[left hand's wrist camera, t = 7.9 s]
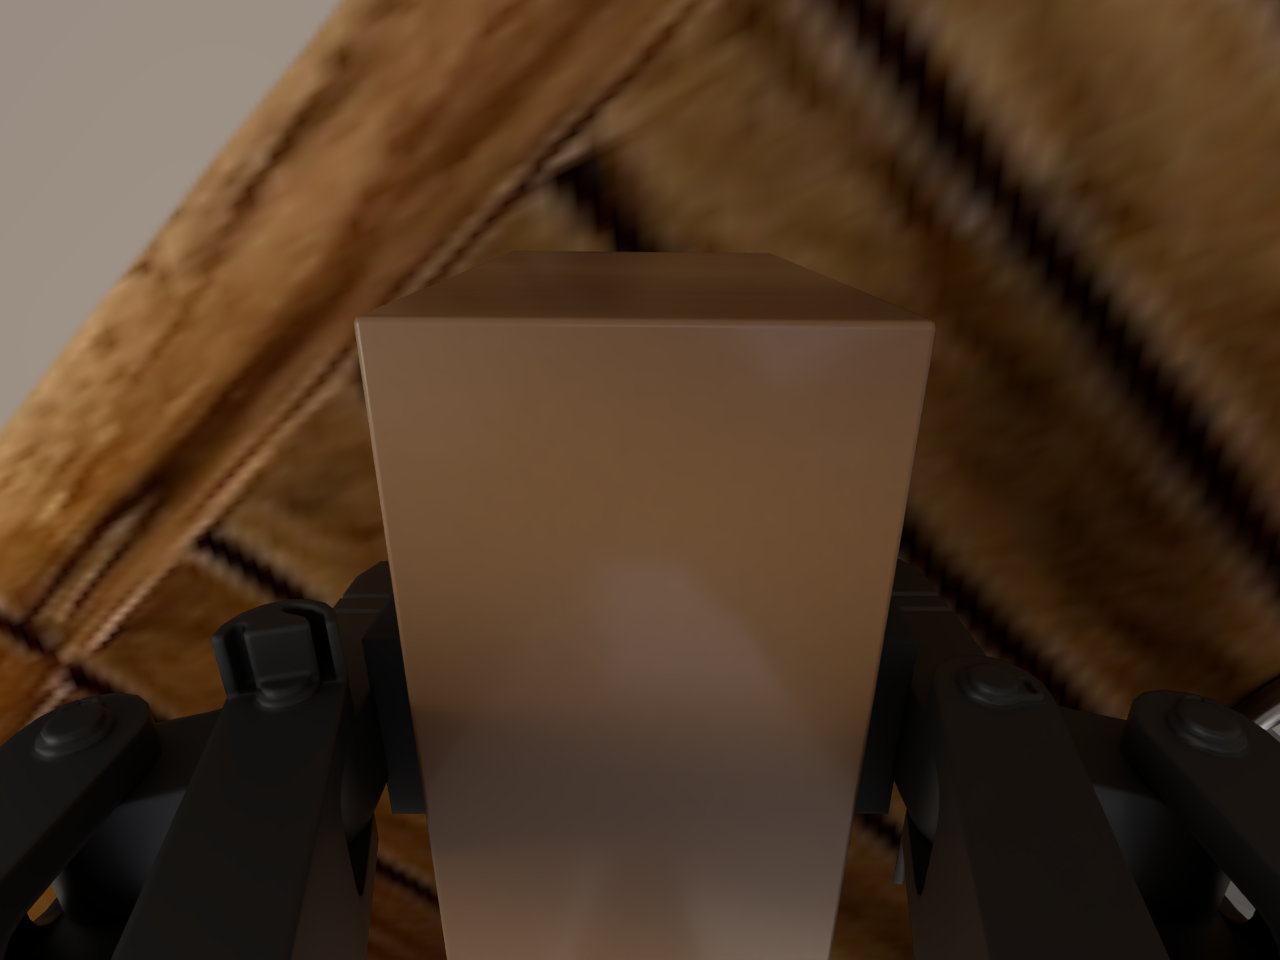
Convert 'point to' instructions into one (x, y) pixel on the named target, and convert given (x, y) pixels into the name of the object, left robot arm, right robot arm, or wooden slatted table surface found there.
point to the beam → (641, 590)
